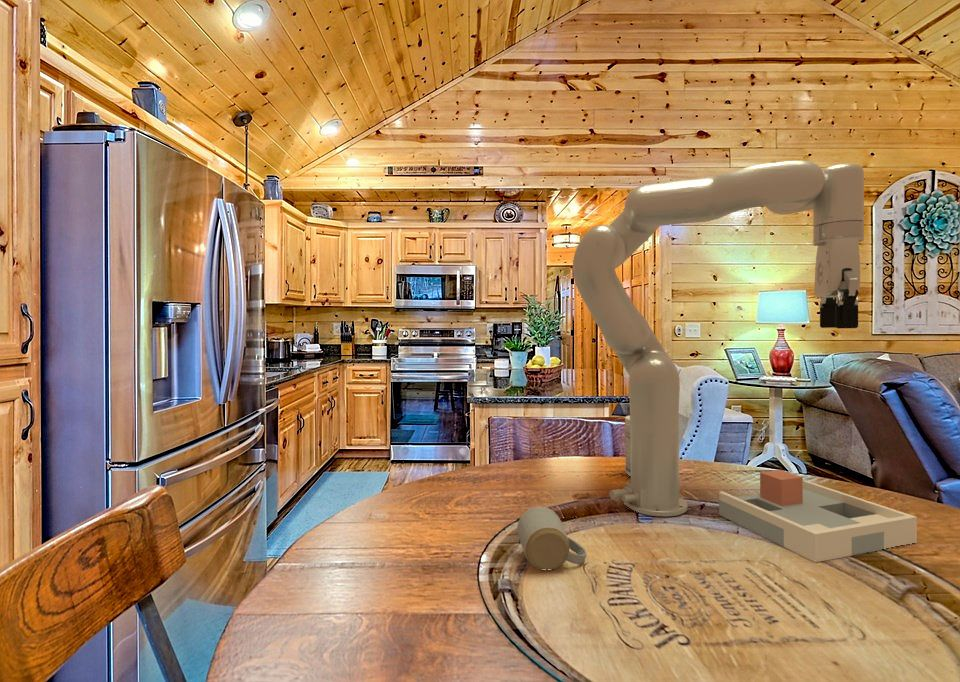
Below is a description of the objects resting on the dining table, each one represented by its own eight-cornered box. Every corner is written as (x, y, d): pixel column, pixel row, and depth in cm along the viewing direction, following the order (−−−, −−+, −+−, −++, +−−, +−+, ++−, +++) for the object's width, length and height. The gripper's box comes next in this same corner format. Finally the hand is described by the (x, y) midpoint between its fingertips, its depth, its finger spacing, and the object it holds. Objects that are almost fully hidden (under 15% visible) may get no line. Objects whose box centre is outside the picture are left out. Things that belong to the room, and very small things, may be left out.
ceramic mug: (525, 575, 75) (525, 525, 75) (516, 550, 83) (516, 505, 83) (593, 572, 76) (593, 523, 75) (578, 548, 84) (578, 504, 84)
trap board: (815, 562, 77) (815, 534, 77) (719, 514, 97) (718, 492, 97) (916, 543, 83) (917, 516, 83) (806, 501, 103) (806, 480, 103)
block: (781, 506, 93) (781, 479, 93) (760, 497, 98) (760, 472, 97) (802, 503, 94) (802, 477, 94) (780, 494, 99) (780, 470, 99)
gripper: (802, 243, 100) (802, 327, 100) (827, 228, 84) (827, 329, 84) (846, 240, 97) (846, 327, 98) (881, 224, 81) (881, 328, 81)
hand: (837, 327), depth 91 cm, fingers open, 9 cm apart
